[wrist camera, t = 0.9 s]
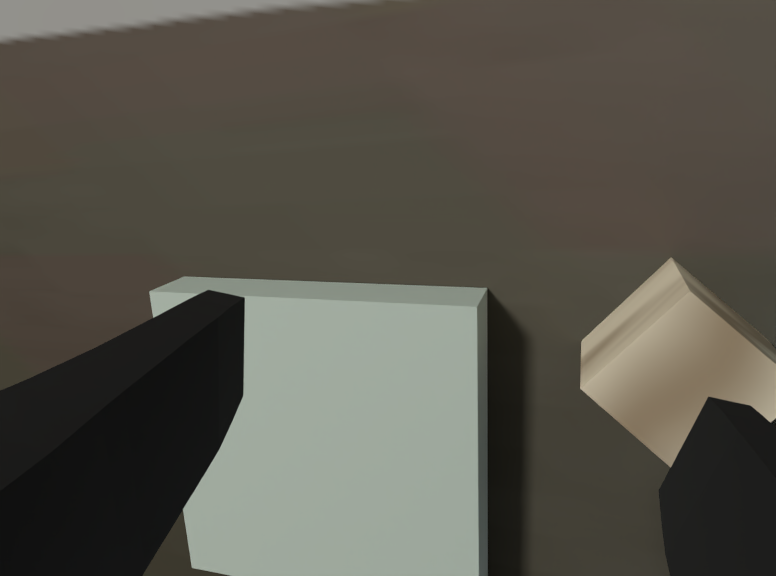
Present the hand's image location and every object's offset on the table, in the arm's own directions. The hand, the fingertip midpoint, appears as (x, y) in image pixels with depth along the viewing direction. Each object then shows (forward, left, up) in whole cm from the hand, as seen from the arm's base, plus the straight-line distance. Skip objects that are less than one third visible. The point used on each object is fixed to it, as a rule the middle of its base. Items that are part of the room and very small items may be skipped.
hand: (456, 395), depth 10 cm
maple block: (-7, 0, -15) cm, 16 cm away
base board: (0, +13, -15) cm, 20 cm away
